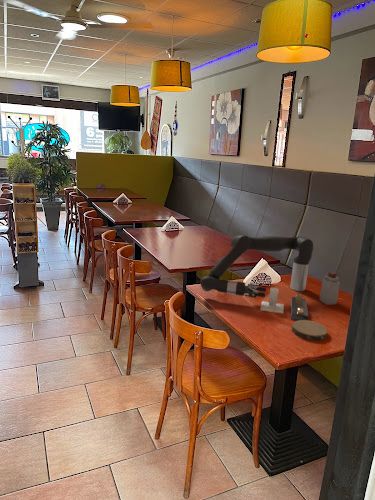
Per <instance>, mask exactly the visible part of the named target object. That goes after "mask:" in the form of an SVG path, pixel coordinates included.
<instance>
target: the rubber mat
mask: <svg viewBox="0 0 375 500" xmlns="http://www.w3.org/2000/svg"><path fill="white" fill-rule="evenodd" d="M268 306H269V301H263V300H262V301H261V305H260V311H262V312H271V313H277V314H284V308H285V307H284V306H285V305H284V303H276V309H272V308H268Z"/></svg>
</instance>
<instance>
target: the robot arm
mask: <svg viewBox="0 0 375 500" xmlns="http://www.w3.org/2000/svg"><path fill="white" fill-rule="evenodd" d="M230 245H231V247H232V248H231V250H230V251H229V252H228V253H226V254H225V255H224V256H223V257H222V258H220V259H219V260H218V261H217V262H216V263H215V265H214V266H213V267H212V268H211V269H210V271H209V274H208V276H203V277H202V278H201V279H200V281H199V283H200V287H201V289H202V290H203V291H205V292H210V291H211V292H212V290H215V291H217V292H219V293H224V294H229V295H232V296H240V297H243V296H245V297H249V298H255V299H256V298H258V297H261V298H265V297H266V293H265V292H266V291H267V287H265V286H264V287H263V286H259V285H258V284H253V283H247V285H246V282H243V281H236V280H226V279H221V278H222V276H223V275H224V274H225V273H226V272H227V271H228V270H229V268H230V267H231V266H232V265H233V264H234V263H235V262H236V261H237V260H238V259H239V258H240V257H241V256H242V255H243V254H244V253H245V252H247V251H249V250H251V251H252V250H254V251H261V252H262V251H263V252H274V253H275V252H281V251H283V250H296V251H298V255H297V256H294V258H293V265H292V272H291V278H290V279H291V280H290V285H289V288H290V289H291V290H293V291H296V292H304V291H305V290H306V284H307V278H308V271H309V266H310V261H311V259H312V255H313V251H314V242H313V240H312V239H310V238H307V237H305V236H291V237H286V236H275V235H269V236H268V235H265V236H256V237H254V236H253V237H250V236H248V235H243V234H239V235H236V236H234V237H233V238H232V239H231V241H230Z"/></svg>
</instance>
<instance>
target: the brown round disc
mask: <svg viewBox="0 0 375 500" xmlns="http://www.w3.org/2000/svg"><path fill="white" fill-rule="evenodd" d="M291 332H292V333H293V334H294V335H295V336H297V337H298V338H301V339H303V340H307V341H314V342H316V341H319V342H320V341H323V340H325V339H326V338H327V336H328V335H327V334H328V328H327V327H325V326H324V325H323V324H321V323H320V322H319V323H318V322H316V321H312V320H298V321H297V320H294V321H293V322H292V327H291Z"/></svg>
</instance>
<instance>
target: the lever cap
mask: <svg viewBox="0 0 375 500" xmlns="http://www.w3.org/2000/svg"><path fill="white" fill-rule="evenodd" d="M278 293H279V288H275V287H270V290H269V299H268V302H269V306H268V308H272V309H276V303H277V302H278Z"/></svg>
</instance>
